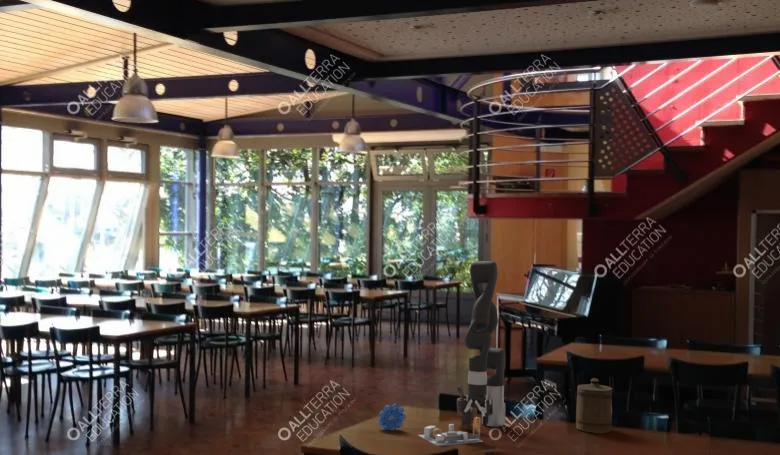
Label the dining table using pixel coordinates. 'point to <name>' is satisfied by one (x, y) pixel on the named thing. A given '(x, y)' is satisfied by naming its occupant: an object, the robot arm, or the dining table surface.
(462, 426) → the mortar and pestle
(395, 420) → the blue lumpy cluster
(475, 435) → the lever
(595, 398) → the wooden container
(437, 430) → the hazelnut
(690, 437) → the dining table surface
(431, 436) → the nutcracker base
